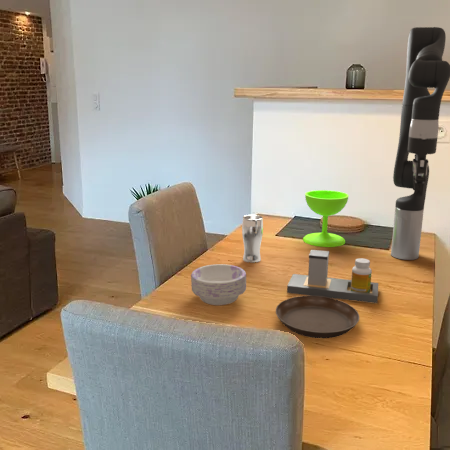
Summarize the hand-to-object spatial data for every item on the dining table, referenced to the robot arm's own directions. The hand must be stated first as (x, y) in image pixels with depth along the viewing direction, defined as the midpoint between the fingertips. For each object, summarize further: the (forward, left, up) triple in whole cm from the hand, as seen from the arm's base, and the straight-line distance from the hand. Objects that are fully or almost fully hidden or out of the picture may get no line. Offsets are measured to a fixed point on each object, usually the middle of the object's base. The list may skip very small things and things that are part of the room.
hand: (417, 193), depth 150 cm
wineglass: (-38, -29, -28) cm, 56 cm away
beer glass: (-8, -50, -28) cm, 58 cm away
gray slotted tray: (+12, -21, -28) cm, 37 cm away
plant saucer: (+34, -23, -29) cm, 50 cm away
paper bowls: (+27, -51, -28) cm, 64 cm away
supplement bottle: (+12, -13, -28) cm, 33 cm away
